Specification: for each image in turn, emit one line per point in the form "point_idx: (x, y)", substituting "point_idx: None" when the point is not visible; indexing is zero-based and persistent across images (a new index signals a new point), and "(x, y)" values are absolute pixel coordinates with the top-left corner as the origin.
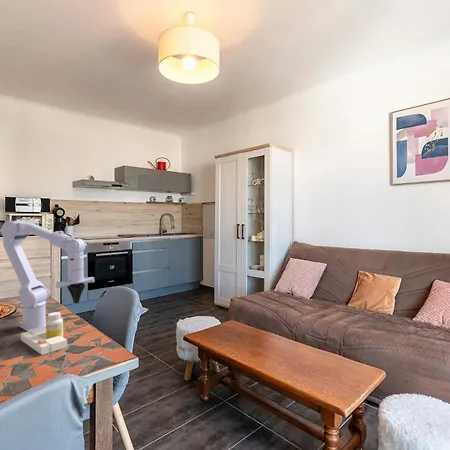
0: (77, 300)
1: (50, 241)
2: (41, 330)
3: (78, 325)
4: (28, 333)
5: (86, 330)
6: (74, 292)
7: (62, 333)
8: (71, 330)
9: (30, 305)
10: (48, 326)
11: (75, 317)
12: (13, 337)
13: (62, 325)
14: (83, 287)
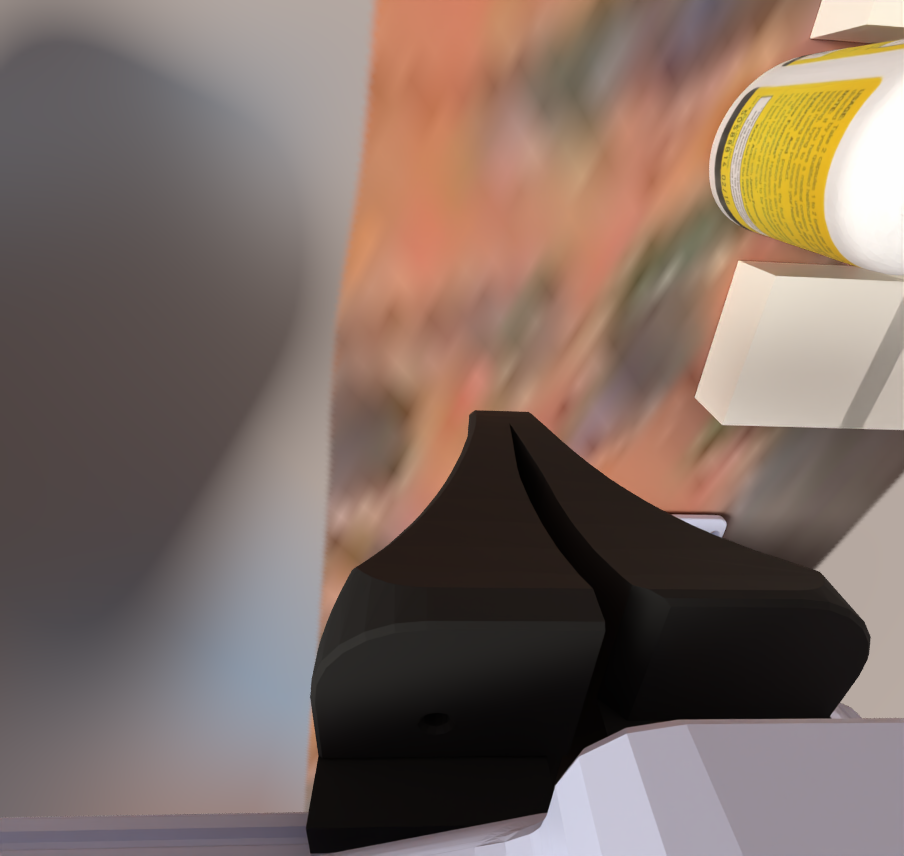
0: (512, 425)
1: None
2: (795, 366)
3: (413, 373)
4: (894, 379)
5: (436, 163)
6: (670, 516)
7: (798, 71)
8: (525, 296)
9: (844, 705)
10: None
11: (334, 563)
12: (832, 492)
13: (861, 71)
14: (411, 565)
